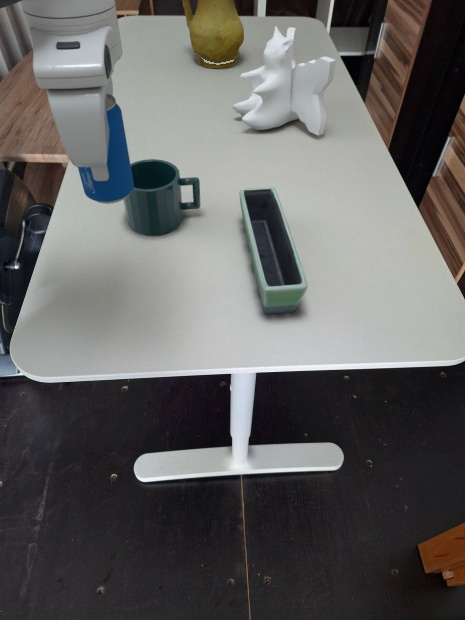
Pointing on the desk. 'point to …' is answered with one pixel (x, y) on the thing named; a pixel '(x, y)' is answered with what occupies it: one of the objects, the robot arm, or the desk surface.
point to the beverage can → (111, 163)
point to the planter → (272, 251)
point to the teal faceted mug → (158, 197)
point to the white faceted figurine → (286, 88)
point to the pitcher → (215, 31)
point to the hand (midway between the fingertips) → (103, 161)
